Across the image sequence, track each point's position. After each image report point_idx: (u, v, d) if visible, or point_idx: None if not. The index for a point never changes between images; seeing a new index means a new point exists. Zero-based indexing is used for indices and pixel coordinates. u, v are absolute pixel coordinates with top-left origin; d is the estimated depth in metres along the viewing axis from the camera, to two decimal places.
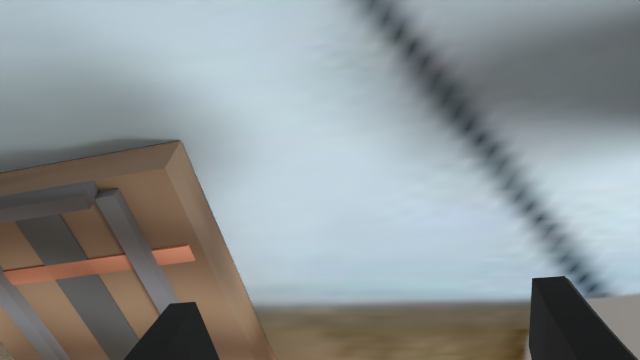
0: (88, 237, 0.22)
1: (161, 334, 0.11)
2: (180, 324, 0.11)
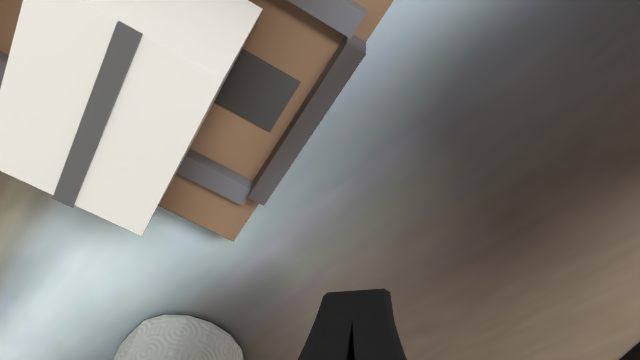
0: None
1: (335, 323, 0.10)
2: (352, 313, 0.10)
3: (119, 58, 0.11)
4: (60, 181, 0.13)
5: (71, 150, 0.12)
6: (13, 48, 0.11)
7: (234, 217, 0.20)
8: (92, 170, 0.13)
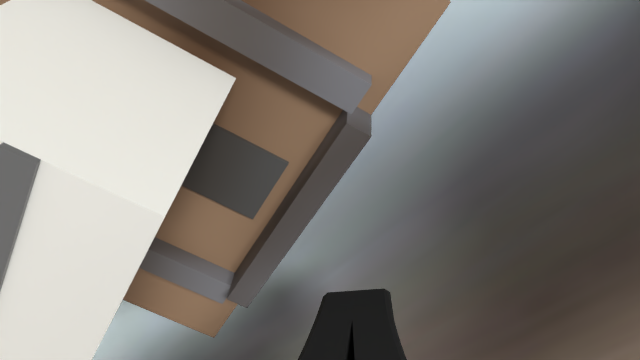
0: None
1: (336, 323, 0.10)
2: (352, 313, 0.10)
3: (11, 190, 0.07)
4: None
5: None
6: None
7: (213, 312, 0.16)
8: None
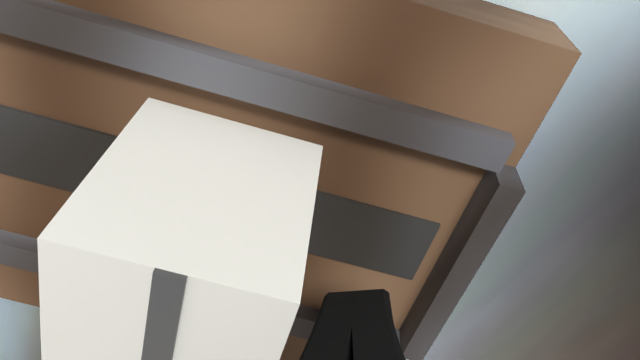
0: None
1: (337, 323, 0.10)
2: (353, 313, 0.10)
3: (166, 304, 0.09)
4: None
5: None
6: (43, 312, 0.09)
7: None
8: None
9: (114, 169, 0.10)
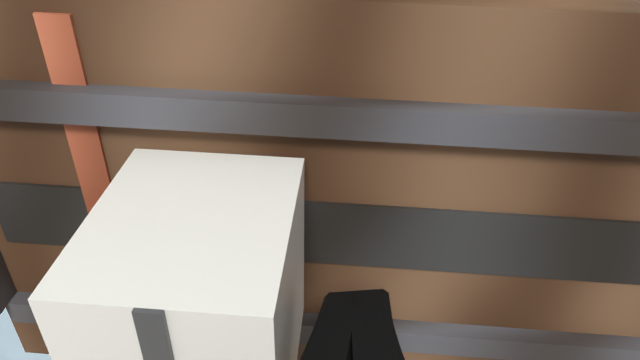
0: (37, 165, 0.14)
1: (337, 323, 0.10)
2: (353, 313, 0.10)
3: (156, 339, 0.09)
4: None
5: None
6: None
7: None
8: None
9: (101, 222, 0.10)
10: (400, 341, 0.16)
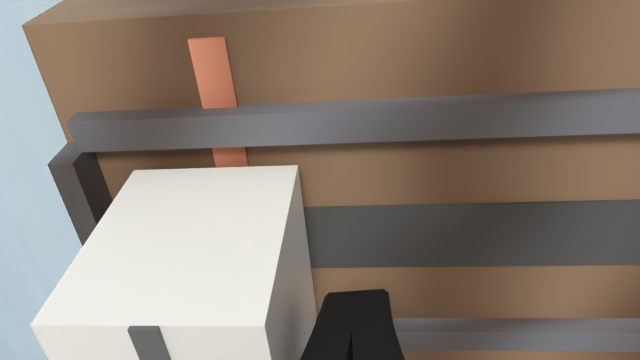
0: None
1: (337, 323, 0.10)
2: (353, 313, 0.10)
3: (156, 356, 0.09)
4: None
5: None
6: None
7: None
8: None
9: (99, 245, 0.11)
10: (552, 340, 0.15)
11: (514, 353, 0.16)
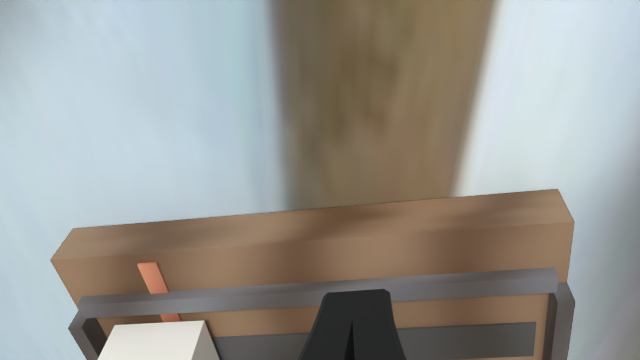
0: None
1: (336, 323, 0.10)
2: (352, 313, 0.10)
3: None
4: None
5: None
6: None
7: None
8: None
9: None
10: None
11: None
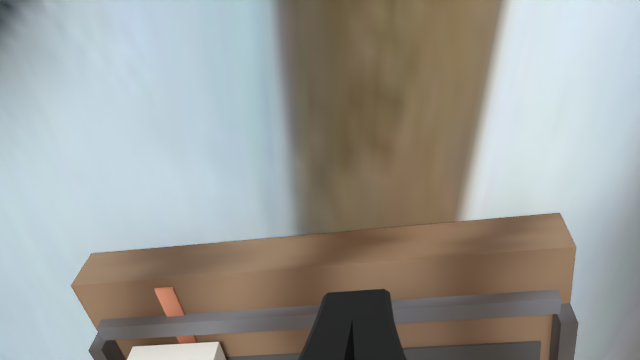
0: None
1: (336, 324, 0.10)
2: (352, 313, 0.10)
3: None
4: None
5: None
6: None
7: None
8: None
9: None
10: None
11: None
